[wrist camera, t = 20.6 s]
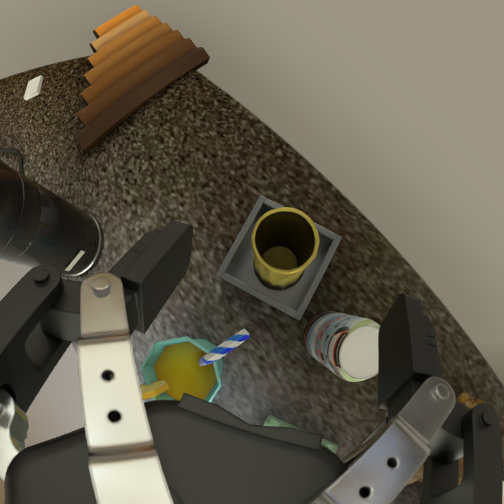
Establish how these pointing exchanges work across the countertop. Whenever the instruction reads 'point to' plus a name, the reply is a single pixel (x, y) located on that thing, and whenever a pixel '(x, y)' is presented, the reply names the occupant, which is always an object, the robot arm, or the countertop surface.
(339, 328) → the beverage can
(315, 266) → the gray open box
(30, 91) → the eraser
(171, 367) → the cup
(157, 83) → the pan flute
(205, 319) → the countertop surface
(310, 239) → the vase
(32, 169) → the countertop surface
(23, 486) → the robot arm
